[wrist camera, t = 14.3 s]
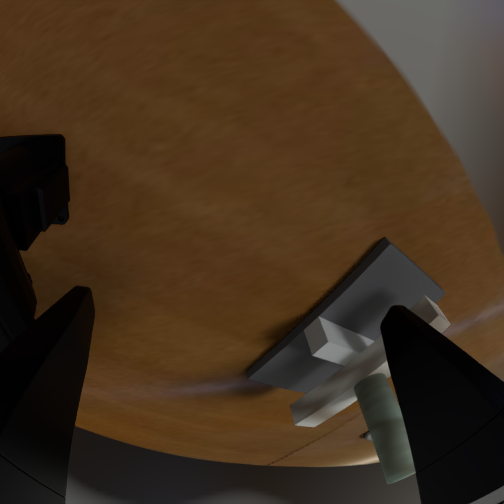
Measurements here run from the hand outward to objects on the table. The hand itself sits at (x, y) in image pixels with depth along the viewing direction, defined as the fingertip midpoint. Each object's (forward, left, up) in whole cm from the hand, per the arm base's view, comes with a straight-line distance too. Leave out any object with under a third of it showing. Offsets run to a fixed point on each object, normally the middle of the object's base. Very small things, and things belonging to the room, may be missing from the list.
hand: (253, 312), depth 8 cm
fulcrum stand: (+15, -15, -13) cm, 25 cm away
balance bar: (+15, -15, -9) cm, 23 cm away
